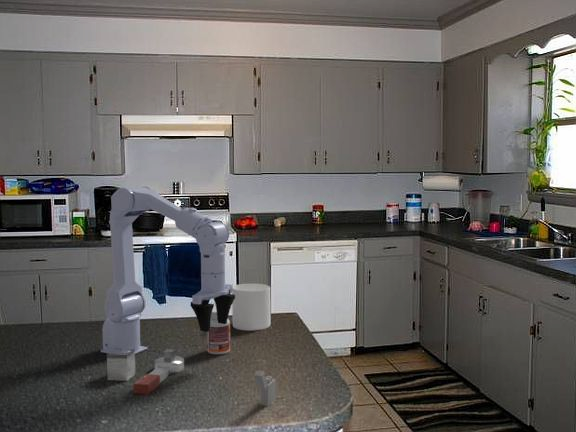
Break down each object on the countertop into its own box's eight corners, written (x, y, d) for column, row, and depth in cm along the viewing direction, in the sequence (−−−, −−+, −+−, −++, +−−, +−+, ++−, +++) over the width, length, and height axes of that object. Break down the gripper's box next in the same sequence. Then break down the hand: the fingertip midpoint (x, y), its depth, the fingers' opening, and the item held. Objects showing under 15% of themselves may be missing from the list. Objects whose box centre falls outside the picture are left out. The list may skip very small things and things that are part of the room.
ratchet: (162, 363, 148) (161, 345, 147) (188, 365, 146) (188, 347, 146) (126, 392, 129) (125, 371, 129) (156, 394, 128) (155, 373, 127)
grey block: (107, 380, 137) (106, 354, 136) (116, 372, 142) (115, 348, 141) (127, 380, 136) (126, 355, 136) (135, 373, 141) (134, 348, 140)
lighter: (268, 397, 126) (268, 361, 126) (276, 398, 126) (276, 362, 125) (253, 410, 120) (253, 372, 119) (261, 411, 119) (261, 373, 118)
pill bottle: (234, 352, 157) (233, 310, 156) (213, 356, 153) (212, 313, 152) (223, 346, 162) (223, 305, 161) (203, 350, 158) (202, 308, 157)
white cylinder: (228, 329, 178) (227, 290, 177) (237, 319, 190) (237, 282, 189) (266, 331, 176) (266, 291, 175) (273, 321, 188) (273, 284, 187)
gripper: (209, 278, 135) (210, 337, 136) (242, 268, 148) (243, 321, 149) (184, 276, 138) (185, 333, 139) (219, 266, 151) (219, 318, 152)
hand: (213, 327), depth 144 cm, fingers open, 7 cm apart
